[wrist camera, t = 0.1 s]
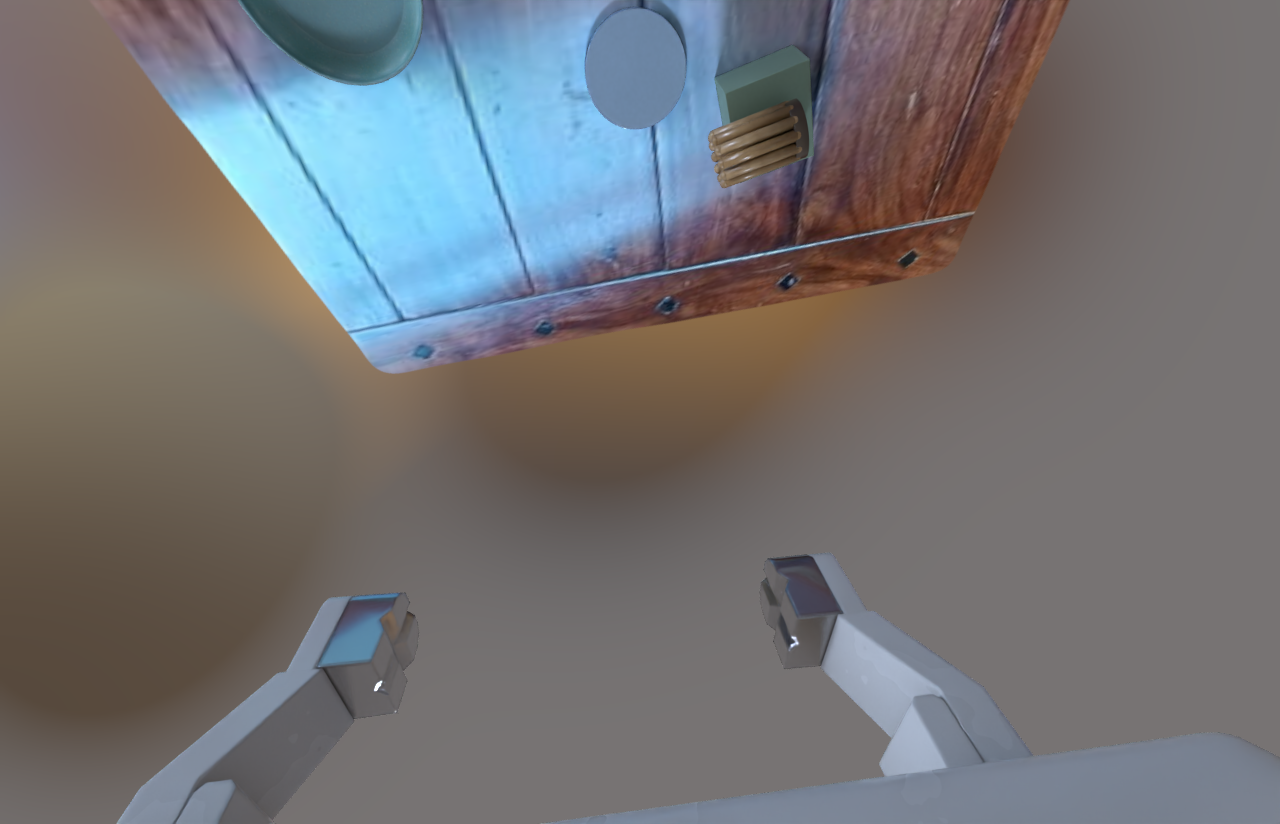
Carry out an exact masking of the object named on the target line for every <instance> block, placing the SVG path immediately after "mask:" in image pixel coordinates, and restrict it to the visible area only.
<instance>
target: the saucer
mask: <svg viewBox="0 0 1280 824" xmlns="http://www.w3.org/2000/svg"><path fill="white" fill-rule="evenodd" d="M238 1H239V3H240V5H241V6H242V8H243V9H244V10H245V12H246V13H247V15H248V16H249V17H250V19H251V20H252V21H253V22H254V24H255V25H256V26H257V27H258V28H259V29H260V30H261V32H262V33H263V34H264V35H265V36H266V37H267V38H268V39H269V40H270V41H271V42H272V43H273V44H275V45H276V46H277V47H278V48H279V49H280V50H281V51H283V52H284V53H285V54H286V55H287V56H289V57H290V58H292V59H293V60H294V61H296V62H297V63H298V64H300V65H302V66H303V67H305V68H307V69H308V70H310V71H312V72H314V73H316V74H318V75H320V76H323V77H325V78H328V79H330V80H333V81H336V82H340V83H344V84H350V85H372V84H377V83H382V82H384V81H387V80H389V79H390V78H393V77H394V76H396V75H397V74H399V73H400V72H401V71H402V70H403V69H404V68H405V67H406V66H407V65H408V64H409V62H410V61H411V59H412V58H413V56H414V54H415V52H416V49H417V47H418V44H419V41H420V37H421V32H422V25H423V1H422V0H238Z"/></svg>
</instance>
